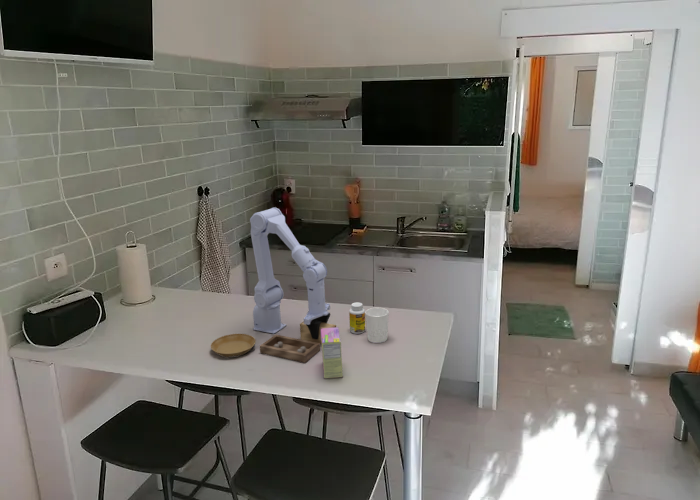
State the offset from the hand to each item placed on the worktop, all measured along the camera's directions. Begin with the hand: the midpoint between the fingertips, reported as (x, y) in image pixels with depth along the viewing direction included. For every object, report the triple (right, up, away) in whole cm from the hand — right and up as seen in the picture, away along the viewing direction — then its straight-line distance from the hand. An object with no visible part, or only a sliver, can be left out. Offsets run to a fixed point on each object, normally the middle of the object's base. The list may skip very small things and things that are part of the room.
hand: (318, 335), depth 184 cm
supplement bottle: (+14, 0, +7) cm, 15 cm away
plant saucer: (-28, -4, -4) cm, 29 cm away
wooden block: (0, -2, 0) cm, 2 cm away
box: (+5, -8, -19) cm, 21 cm away
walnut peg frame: (-9, -4, -7) cm, 12 cm away
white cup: (+20, -1, 0) cm, 20 cm away
